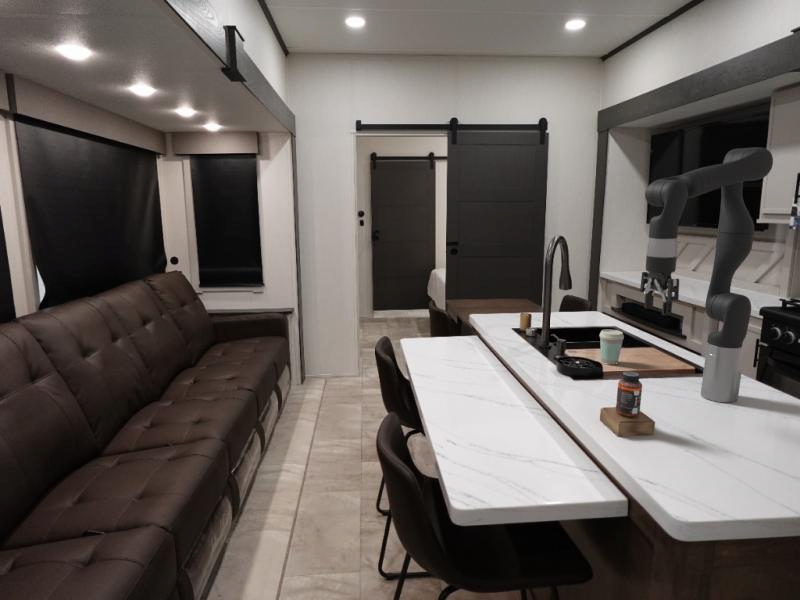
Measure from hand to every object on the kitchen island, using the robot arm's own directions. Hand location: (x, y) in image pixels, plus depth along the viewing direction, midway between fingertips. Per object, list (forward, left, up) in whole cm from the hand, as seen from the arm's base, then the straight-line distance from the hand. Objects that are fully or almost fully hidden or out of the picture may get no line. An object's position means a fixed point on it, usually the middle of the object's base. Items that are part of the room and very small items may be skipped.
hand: (657, 311), depth 150 cm
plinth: (+12, +10, -30) cm, 34 cm away
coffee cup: (-11, -44, -30) cm, 54 cm away
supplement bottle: (+12, +10, -26) cm, 30 cm away
